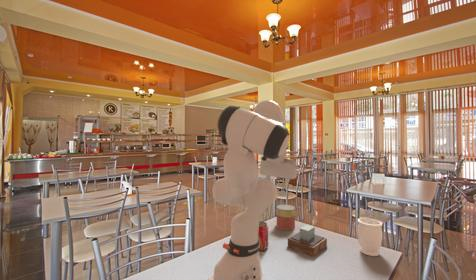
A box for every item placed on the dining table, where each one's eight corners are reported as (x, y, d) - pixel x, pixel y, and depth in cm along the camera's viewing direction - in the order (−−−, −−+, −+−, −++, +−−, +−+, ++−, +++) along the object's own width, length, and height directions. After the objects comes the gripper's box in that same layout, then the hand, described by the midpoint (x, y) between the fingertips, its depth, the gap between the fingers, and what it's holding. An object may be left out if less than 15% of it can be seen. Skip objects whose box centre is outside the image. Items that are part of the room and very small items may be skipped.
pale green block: (314, 236, 115) (314, 226, 115) (308, 241, 110) (308, 230, 110) (306, 233, 118) (306, 224, 118) (299, 238, 113) (299, 228, 113)
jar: (369, 245, 115) (370, 216, 115) (387, 256, 105) (388, 224, 105) (352, 248, 112) (352, 218, 112) (368, 259, 102) (369, 226, 102)
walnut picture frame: (313, 256, 105) (313, 246, 105) (287, 246, 114) (287, 237, 114) (326, 246, 114) (326, 237, 114) (301, 237, 124) (301, 229, 124)
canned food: (293, 223, 145) (293, 204, 145) (296, 230, 134) (296, 210, 134) (276, 222, 146) (276, 204, 146) (276, 229, 135) (277, 209, 135)
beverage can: (251, 243, 117) (251, 220, 117) (266, 243, 117) (266, 220, 117) (253, 251, 109) (253, 227, 109) (269, 251, 110) (269, 226, 109)
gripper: (299, 159, 107) (299, 187, 108) (265, 156, 122) (265, 181, 122) (292, 160, 103) (292, 190, 103) (258, 157, 117) (257, 183, 118)
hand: (277, 185), depth 113 cm, fingers open, 8 cm apart
